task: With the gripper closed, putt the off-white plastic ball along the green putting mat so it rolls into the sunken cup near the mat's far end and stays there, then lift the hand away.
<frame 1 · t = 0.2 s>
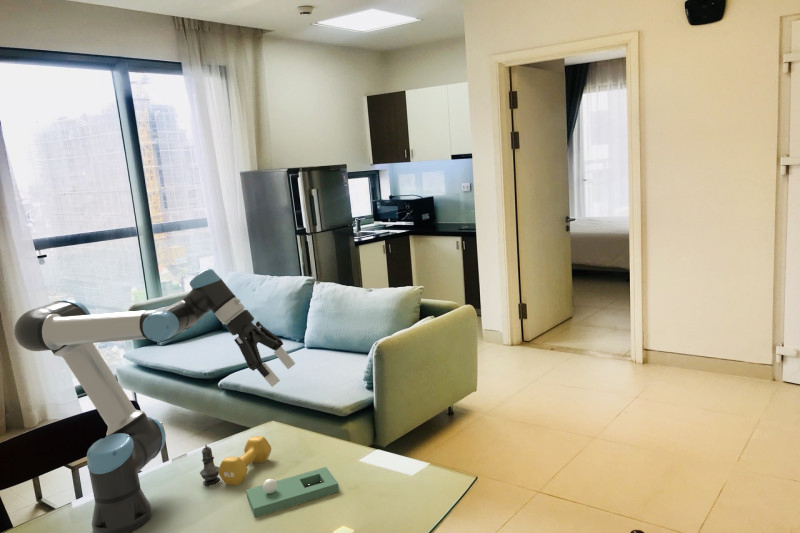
hand: (284, 374, 174), 35 cm above the table, tool tilted 35°, fingers open, 13 cm apart
ball: (270, 486, 173), point 4 cm above the table, touching green
dark grey chess piece: (211, 482, 190), on the table
green: (292, 494, 176), on the table
dumbbell: (247, 472, 194), on the table
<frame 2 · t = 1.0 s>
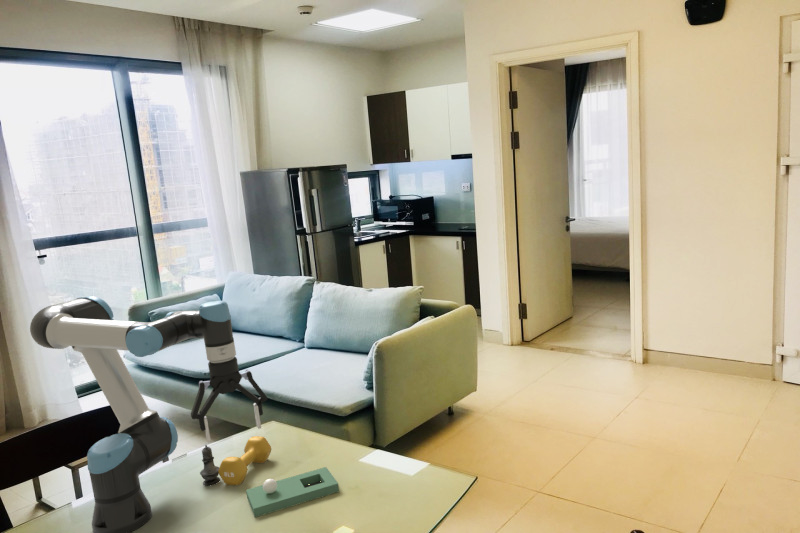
hand: (234, 433, 168), 22 cm above the table, tool pointing down, fingers open, 13 cm apart
nothing on the table moved.
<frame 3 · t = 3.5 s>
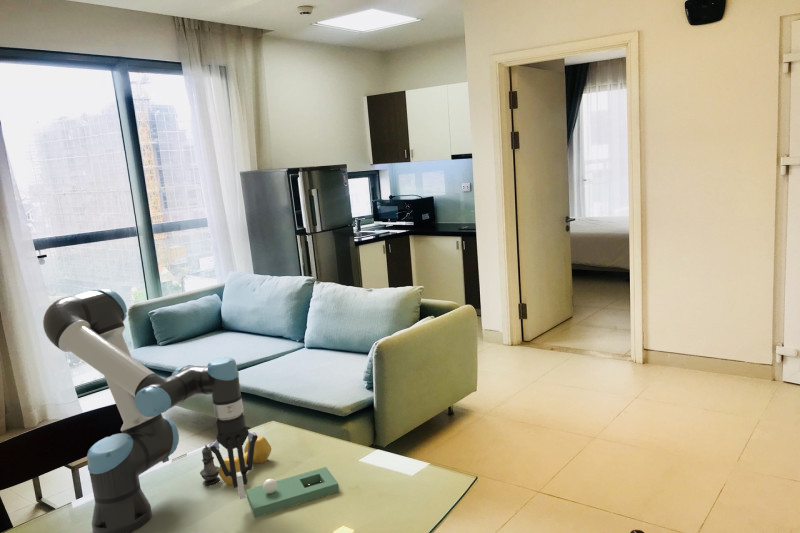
hand: (242, 496, 170), 4 cm above the table, tool pointing down, fingers closed
nothing on the table moved.
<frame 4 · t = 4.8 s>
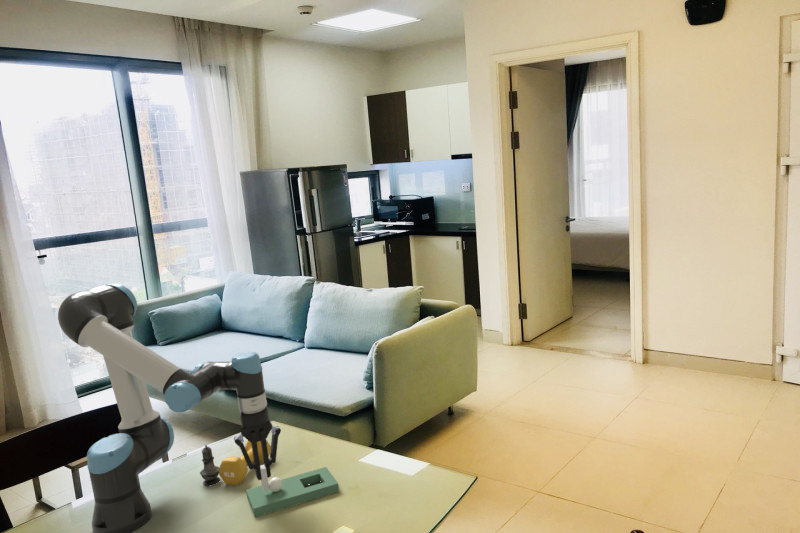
hand: (265, 488, 173), 4 cm above the table, tool pointing down, fingers closed
ball: (275, 484, 174), point 4 cm above the table, tilted 42°, touching green
everything else where it was.
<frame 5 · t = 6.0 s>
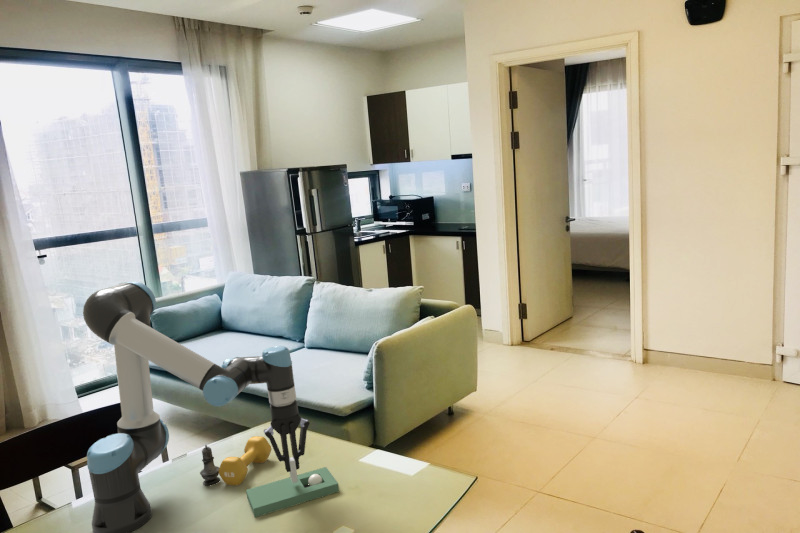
hand: (294, 480, 176), 4 cm above the table, tool pointing down, fingers closed
ball: (315, 481, 178), point 2 cm above the table, tilted 28°, touching green
everything else where it was.
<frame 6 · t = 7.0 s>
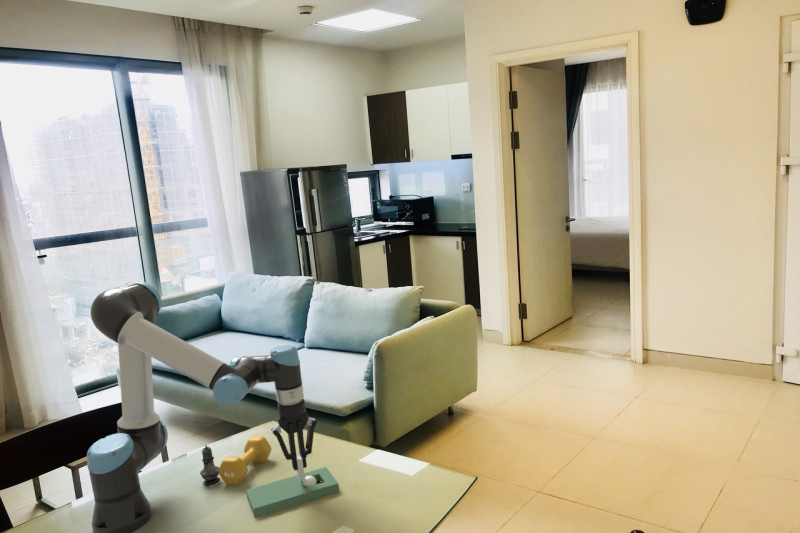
hand: (301, 479, 177), 4 cm above the table, tool pointing down, fingers closed
ball: (309, 482, 178), point 2 cm above the table, tilted 21°, touching green, gripper
everything else where it was.
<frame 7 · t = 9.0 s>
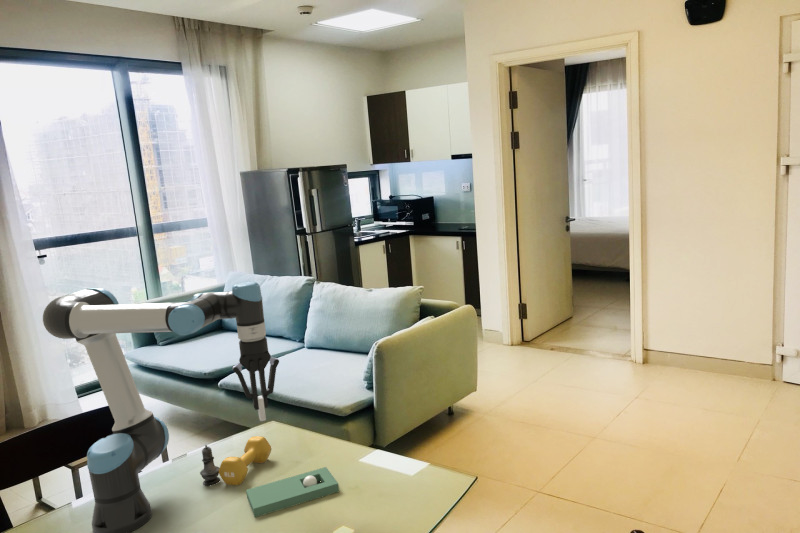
hand: (262, 419, 174), 23 cm above the table, tool pointing down, fingers closed
ball: (310, 482, 178), point 2 cm above the table, tilted 17°, touching green
everything else where it was.
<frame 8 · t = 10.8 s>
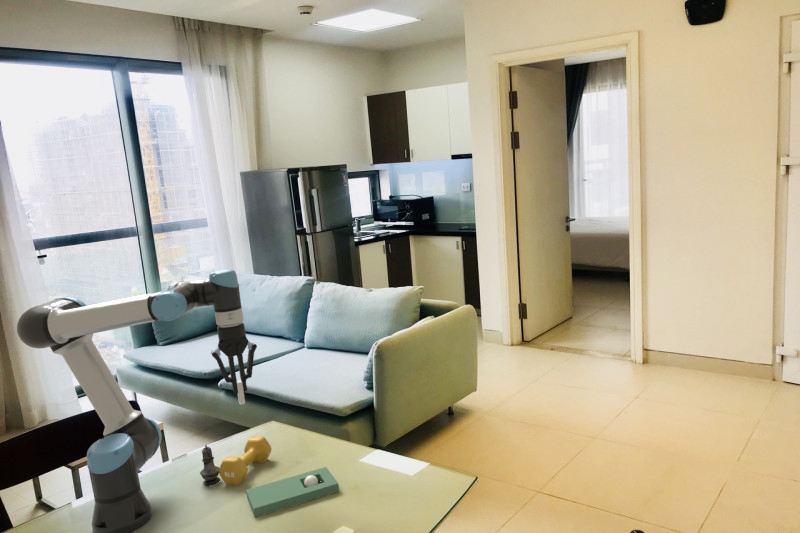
hand: (241, 402, 179), 26 cm above the table, tool pointing down, fingers closed
ball: (311, 482, 178), point 2 cm above the table, tilted 8°, touching green
everything else where it was.
at the end: ball 0.5 cm from the target spot on the green, point 2.2 cm above the green's base; the gripper is holding nothing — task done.
